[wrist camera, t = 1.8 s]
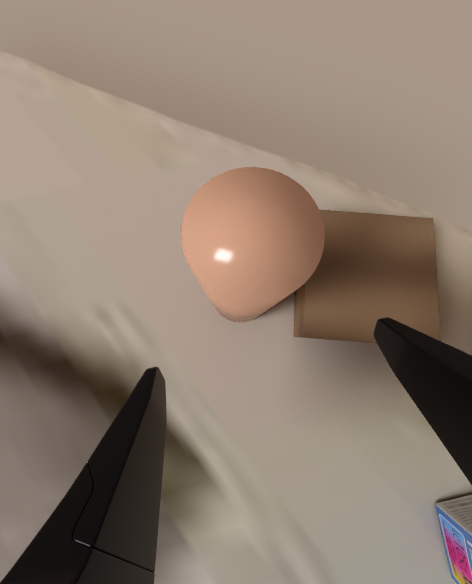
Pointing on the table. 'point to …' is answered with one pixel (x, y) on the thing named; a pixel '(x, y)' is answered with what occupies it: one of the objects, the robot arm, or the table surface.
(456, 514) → the ink cartridge box
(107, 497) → the robot arm
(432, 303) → the walnut plinth
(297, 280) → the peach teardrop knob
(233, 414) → the table surface
